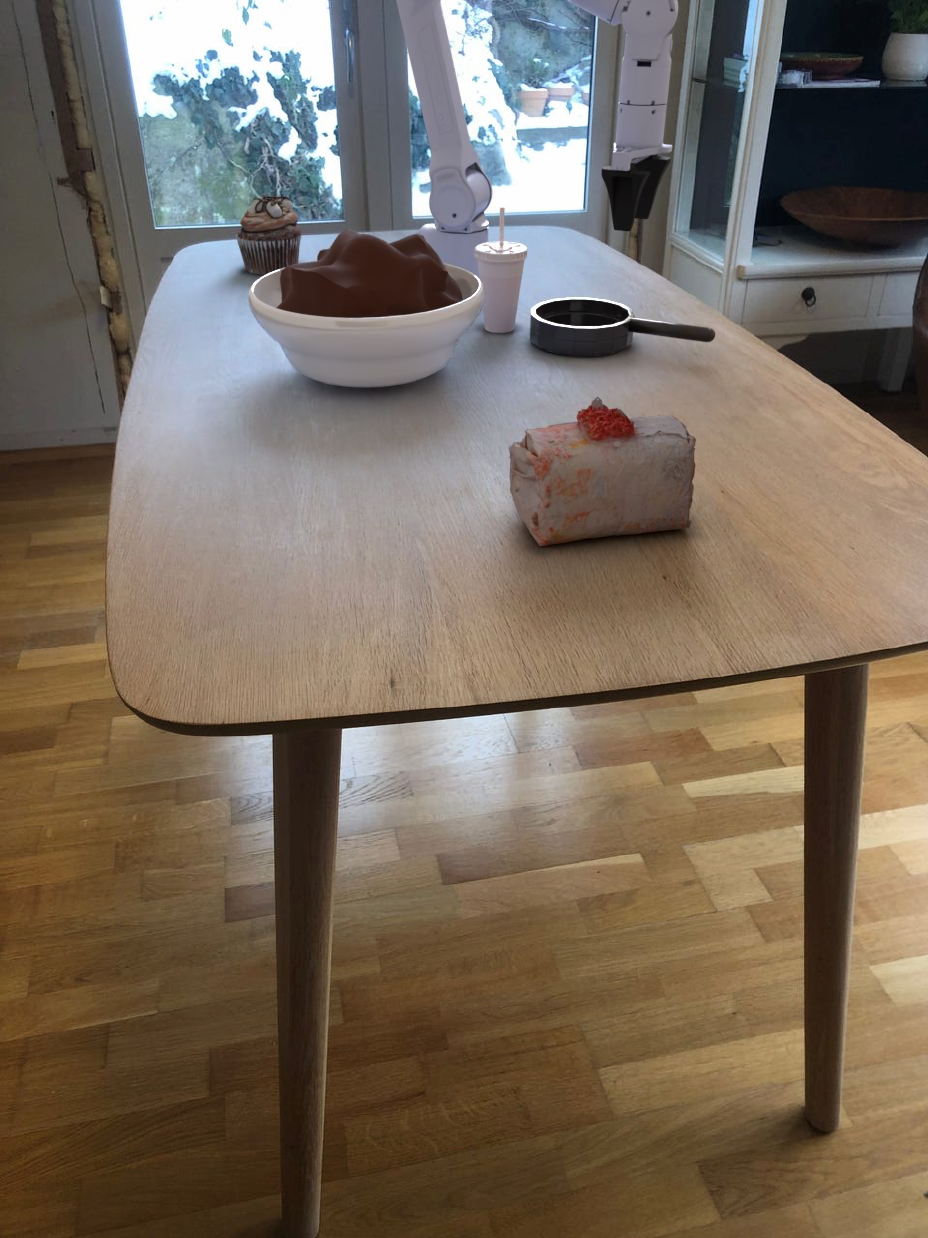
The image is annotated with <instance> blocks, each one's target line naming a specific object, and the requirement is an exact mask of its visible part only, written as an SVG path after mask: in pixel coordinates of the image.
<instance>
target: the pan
mask: <svg viewBox="0 0 928 1238" xmlns="http://www.w3.org/2000/svg"><path fill="white" fill-rule="evenodd" d="M629 318H636V315H635V312H634V310H633V309H632V308H630V307H628V306H627V305H625V304H623V303H618V302H615V301H611V300H608V299H603V298H602V299H600V298H593V297H564V298H563V297H562V298H553V299H549V300H546V301H545V300H544V301H542V302H539V303H537V304H535V305H534V306H533V307H531V308H530V317H529V341H530V342H532V343H533V344H534V345H535V346H536V347H538V348H540V349H541V350H544V351H546V352H549V353H552V354H557V355H562V356H568V357H580V358H581V357H582V358H587V357H588V358H590V357H603V356H608V355H612V354H616V353H618V352H620V351H622V350H624V349H627V348H628V347H629V346H630V345H631V344H632V343H633V340H634V332H630V331H629V326H630V321H631V320H630V319H629Z"/></svg>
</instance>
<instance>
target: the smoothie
mask: <svg viewBox="0 0 928 1238" xmlns="http://www.w3.org/2000/svg"><path fill="white" fill-rule="evenodd" d="M505 209H506V208H505V207H504V206H502V207H499V226H498V227H499V229H498V230H499V232H498V233H499V234H498V236H499V237H498V241H488V242H487V243H482V244H479V245H477V246H476V247H475V254H474V256H475V258H477V261H478V272H479V279H480V281H481V282H482V284H483V287H484V290H485V297H484V303H483V306H482V308H481V309H482V317H483V325H484V330H485V331H486V332H489V333H494V334H506V333H510V332H513V331H514V330H515V327H516V320H517V313H518V307H519V299H520V292H521V285H522V280H523V279H522V278H523V273H524V265H525V260H526V259H527V258H528V256H529V255H528V247H527V246H526V245H524V244H523V243H519V242H514V241H513V242H512V241H505V213H506V212H505Z"/></svg>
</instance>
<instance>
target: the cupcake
mask: <svg viewBox="0 0 928 1238" xmlns="http://www.w3.org/2000/svg"><path fill="white" fill-rule="evenodd" d="M293 206H294V205H293V202H292V201H291V199H290V197H288V196H283V195H282V196H270V195H267V194H262V196H260V197H255V196H254V197H253V202H252V203H251V205H249V207H248V208H247V209H246V212H245V213H244V216H243V217H242V218H241V220H240V222H239V224H240V226H241V228H240V229H239V230H238V231H237V233H236V234H235V239H236V241H237V245H238V248H239V252H240V255H241V258H242V261H243V262H242V263H243V265H244V267H245V268H244V269H245V271H246V272H247V273H250V274H253V275H260V276H264V275H266V274H268V273H270V272H273V271H275V270H278V269H281V268H284V267H287V266H290V265H293V264H299V260H300V248H301V247H300V245H301V240H302V233H303V232H302V229H301V226H300V225H299V223H298V222H299V217H298V216H299V215H297V213H296V212H294V211H293V209H294V208H293Z"/></svg>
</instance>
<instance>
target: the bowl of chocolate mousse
mask: <svg viewBox="0 0 928 1238" xmlns="http://www.w3.org/2000/svg"><path fill="white" fill-rule="evenodd" d="M484 297H485V290H484V287H483V284H482V282H481V281H480V279H479V278H478V277H477V276H476V275H474V274H473V273H471V272H469V271H467V270H465V269H463V268H460V267H457V266H454V265H450V264H447V263H442V261H441V259H440V257H439V255H438V254H437V253H436V252H435V251H434V249H433V248H432V247H431V246H430V244H428V243H427V242H426V240H425V238H424V236H423V235H420V234H418V233H412V234H409V235H407V236H405V237H402V238H400V239H397V240H395V241H392V242H387V241H386V240H384V239H382V238H380V237H378V236H375V235H372V234H369V233H359V232H358V231H356V230H354V229H344V230H343V231H342V232H340V233H339V234H338V235H337V236H336V238H335V239H334V240H333V242H332V243H331V245H330V247H329V248H323V249H320V250H319V252H318V254H317V257H316V260H312V261H305V262H298V264H293V265H290V266H287V267H284V268H281V269H278V270H275V271H273V272H270V273H268V274H266V275H261V277H259V278H257V279H256V280H255V281H254V282H253V283H252V284H251V286H250V287H249V290H248V294H247V302H248V303H247V304H248V308H249V310H250V313H251V314H252V316H253V318H254V319H255V321H256V322H257V323H258V325H259V326H260V327H261V328H262V330H263V331H264V332H265V333H266V334H267V335H268V336H269V337H270V338H271V339H272V340H274V341H275V342H276V343H278V345H280V348H281V350H282V352H283V355H284V356H285V358H286V359H287V360H288V362H289V364H290V365H291V366H292V368H293V369H294V370H295V371H296V372H297V373H299V374H301V375H303V376H304V377H307V378H309V379H311V380H314V381H316V382H319V383H322V384H325V385H332V386H337V387H345V388H365V389H366V388H384V387H385V388H386V387H393V386H399V385H405V384H409V383H414V382H417V381H420V380H424V379H425V378H427V377H430V376H432V375H434V374H435V373H437V372H439V371H440V370H442V369H444V368H445V367H446V366H447V365H448V363H450V361H451V359H452V357H453V355H454V353H455V351H456V348H457V345H458V342H459V340H460V338H461V337H462V336H463V335H464V334H466V333H467V331H468V330H469V329H470V327H471V326H472V325H473V323H474V322H475V320H476V319H477V317H478V316H479V314H480V313H481V310H482V309H483V308H482V306H483V303H484Z"/></svg>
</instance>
